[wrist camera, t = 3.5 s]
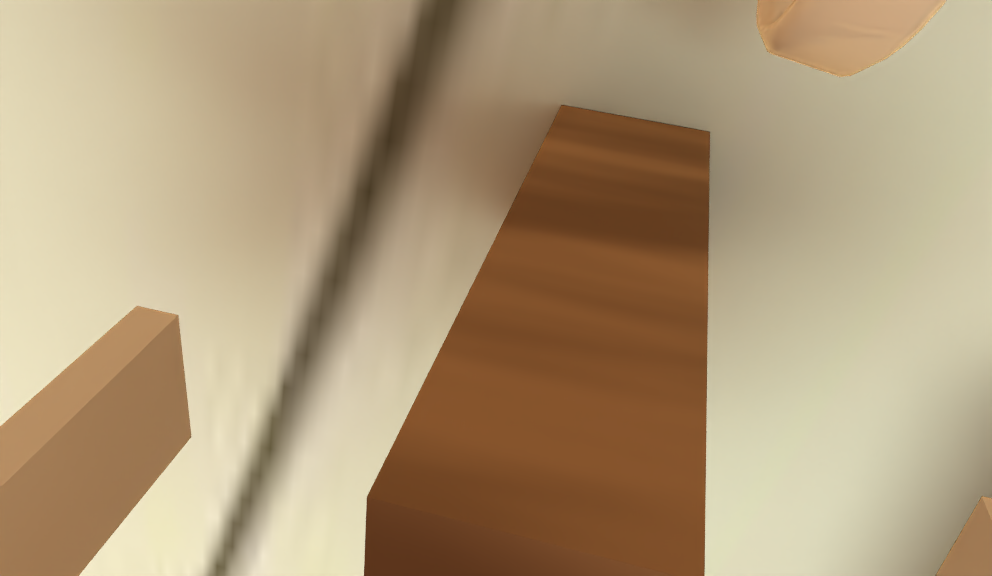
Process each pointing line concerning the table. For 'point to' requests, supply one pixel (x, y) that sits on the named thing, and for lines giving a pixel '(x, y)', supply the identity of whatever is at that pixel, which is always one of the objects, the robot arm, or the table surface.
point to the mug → (841, 30)
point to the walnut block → (568, 376)
